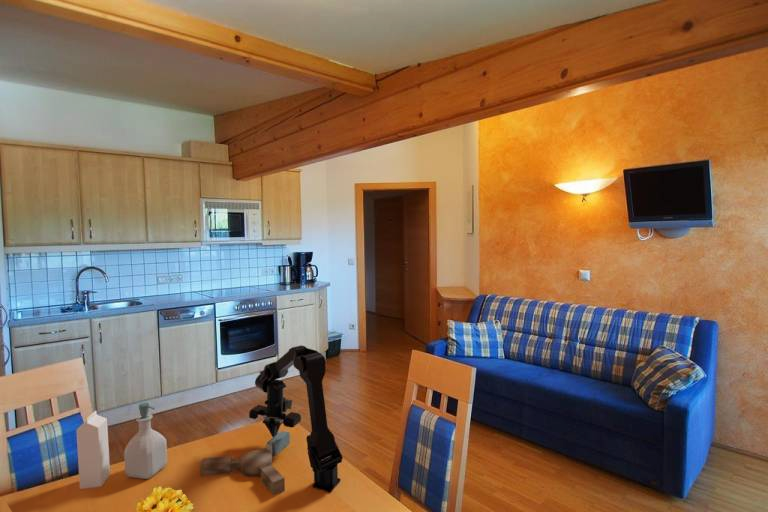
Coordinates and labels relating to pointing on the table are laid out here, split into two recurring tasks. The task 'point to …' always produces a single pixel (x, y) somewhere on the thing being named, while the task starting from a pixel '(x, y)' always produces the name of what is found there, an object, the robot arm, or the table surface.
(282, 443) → the grey long block
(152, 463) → the soap bottle
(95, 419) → the milk
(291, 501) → the table surface
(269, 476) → the wooden three-arm spinner
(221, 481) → the table surface
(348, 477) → the table surface
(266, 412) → the robot arm
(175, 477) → the table surface
